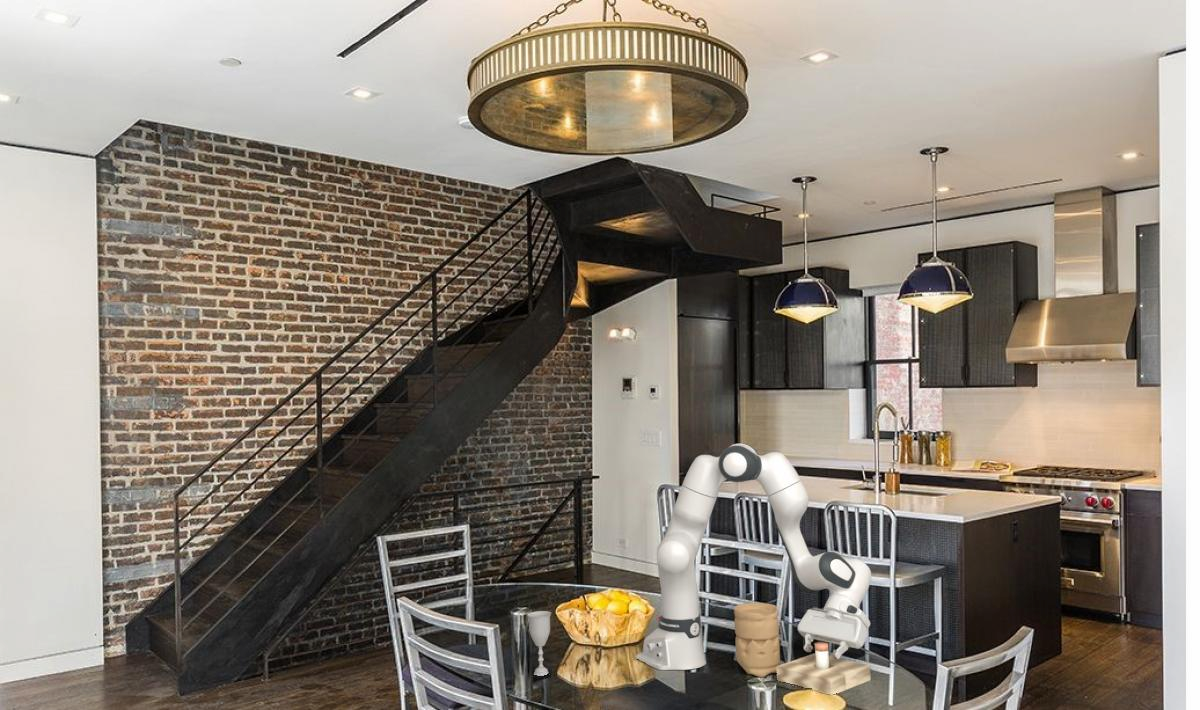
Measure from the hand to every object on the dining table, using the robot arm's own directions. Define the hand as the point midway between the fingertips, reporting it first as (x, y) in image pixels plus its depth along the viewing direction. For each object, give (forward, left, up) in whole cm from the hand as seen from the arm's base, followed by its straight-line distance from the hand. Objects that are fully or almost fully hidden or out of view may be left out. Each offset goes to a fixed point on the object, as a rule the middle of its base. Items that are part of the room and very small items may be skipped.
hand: (820, 654), depth 248 cm
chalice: (-61, -51, -8) cm, 80 cm away
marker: (0, +1, -7) cm, 7 cm away
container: (-19, -4, -8) cm, 21 cm away
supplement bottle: (-20, +24, -8) cm, 32 cm away
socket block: (0, +1, -7) cm, 7 cm away
